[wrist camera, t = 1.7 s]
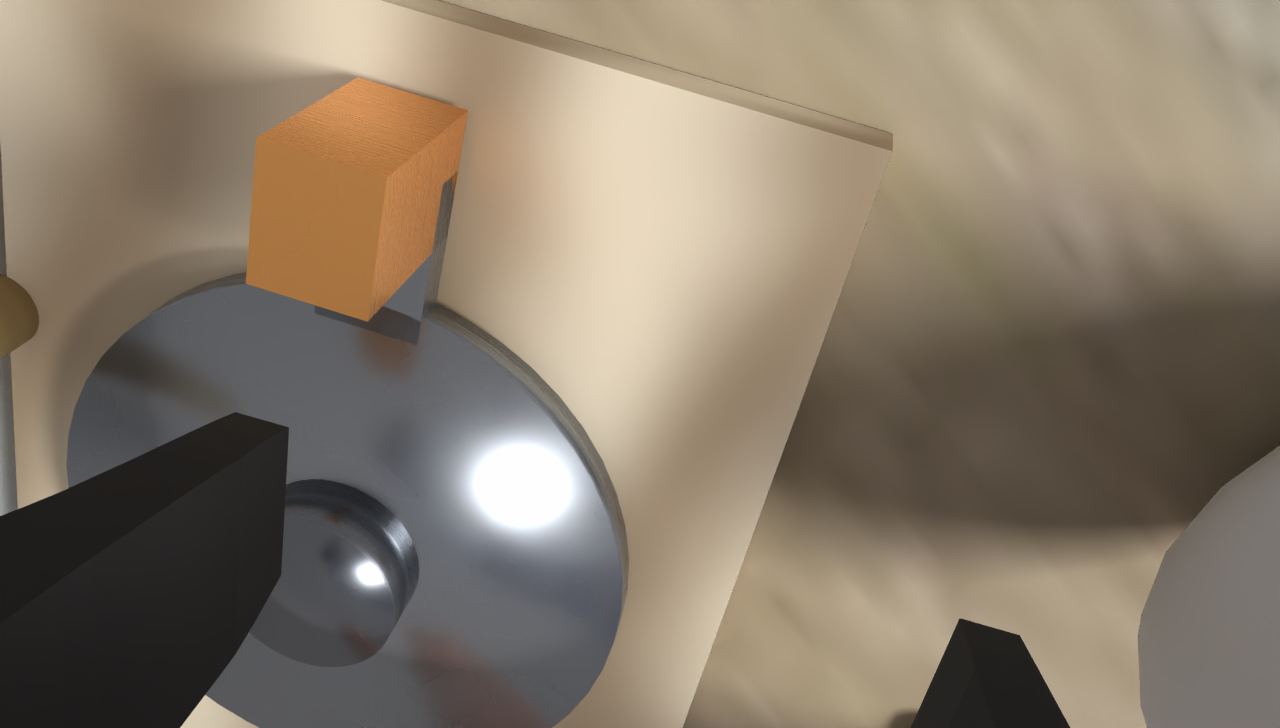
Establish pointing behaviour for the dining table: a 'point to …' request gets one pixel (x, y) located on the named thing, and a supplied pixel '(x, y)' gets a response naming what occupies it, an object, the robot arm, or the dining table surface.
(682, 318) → the board
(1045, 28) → the dining table surface
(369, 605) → the flange plate
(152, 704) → the robot arm
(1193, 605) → the donut
